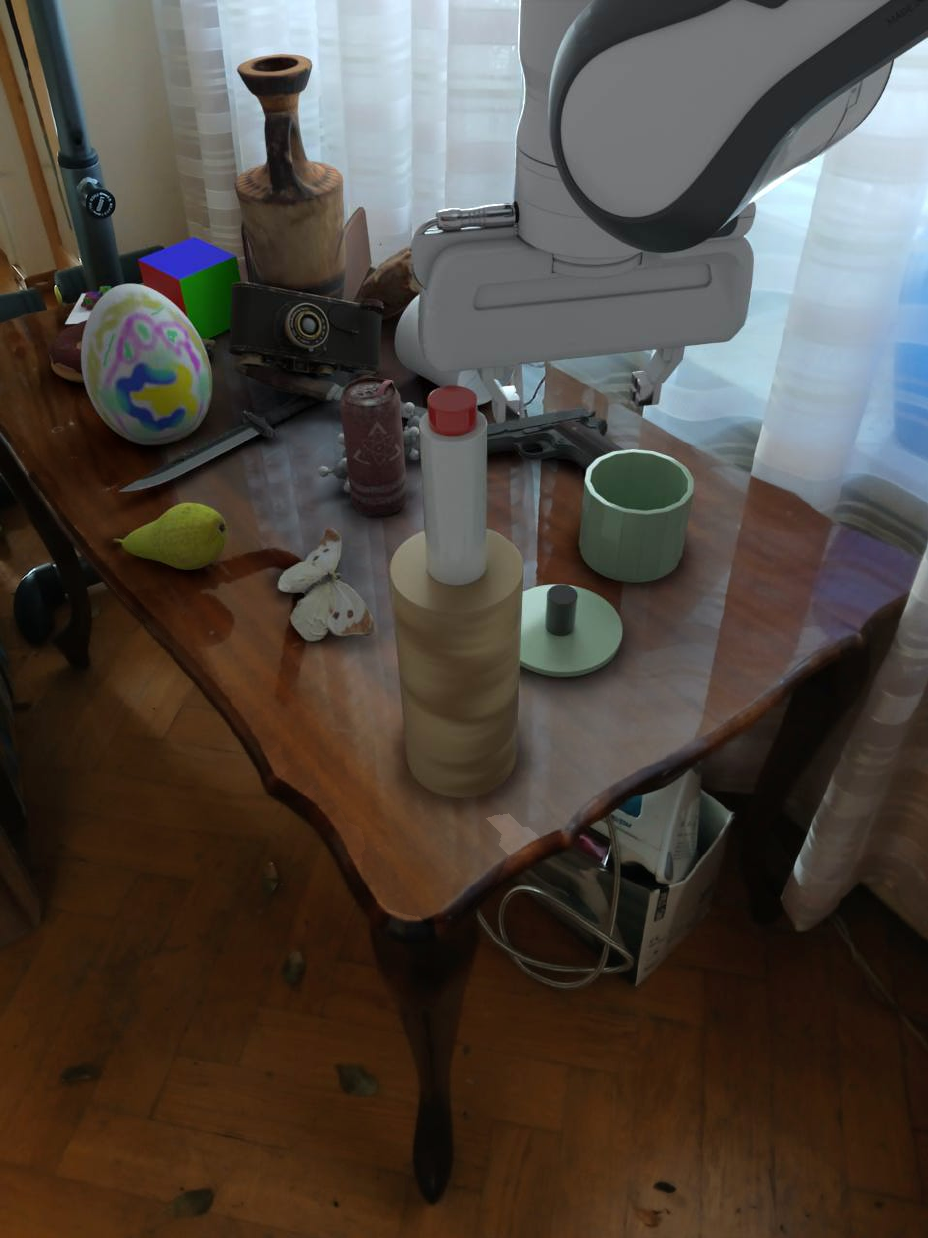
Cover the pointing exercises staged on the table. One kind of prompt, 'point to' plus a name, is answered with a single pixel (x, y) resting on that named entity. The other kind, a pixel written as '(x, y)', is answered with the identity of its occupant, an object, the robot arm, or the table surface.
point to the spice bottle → (454, 485)
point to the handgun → (554, 436)
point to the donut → (68, 353)
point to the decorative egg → (145, 366)
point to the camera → (304, 330)
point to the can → (374, 445)
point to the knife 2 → (304, 385)
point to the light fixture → (415, 361)
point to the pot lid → (567, 631)
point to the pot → (635, 515)
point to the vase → (291, 191)
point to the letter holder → (354, 247)
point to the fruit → (180, 537)
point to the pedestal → (459, 668)
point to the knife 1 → (224, 442)
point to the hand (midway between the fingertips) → (575, 409)
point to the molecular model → (408, 441)
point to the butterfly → (325, 595)
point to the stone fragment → (392, 283)
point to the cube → (195, 282)
